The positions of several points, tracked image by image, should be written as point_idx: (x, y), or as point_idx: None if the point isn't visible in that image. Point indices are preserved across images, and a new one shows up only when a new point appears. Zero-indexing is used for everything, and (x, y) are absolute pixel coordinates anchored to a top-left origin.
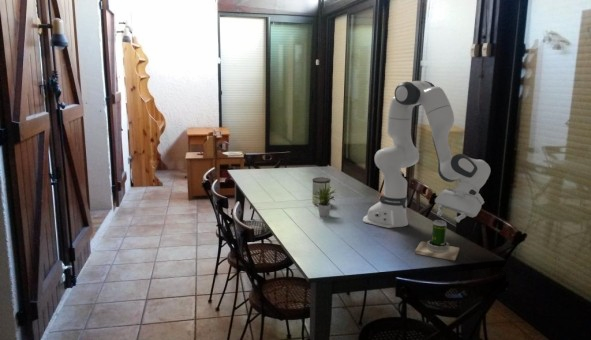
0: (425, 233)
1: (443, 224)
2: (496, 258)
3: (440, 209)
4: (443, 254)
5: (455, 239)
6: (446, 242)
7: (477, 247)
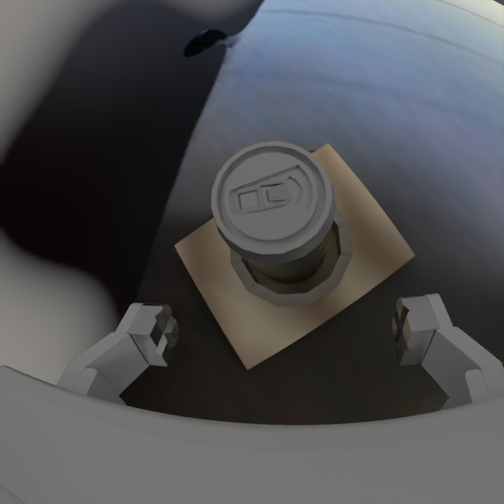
0: None
1: (217, 191)
2: None
3: (451, 358)
4: None
5: None
6: (274, 299)
7: None
